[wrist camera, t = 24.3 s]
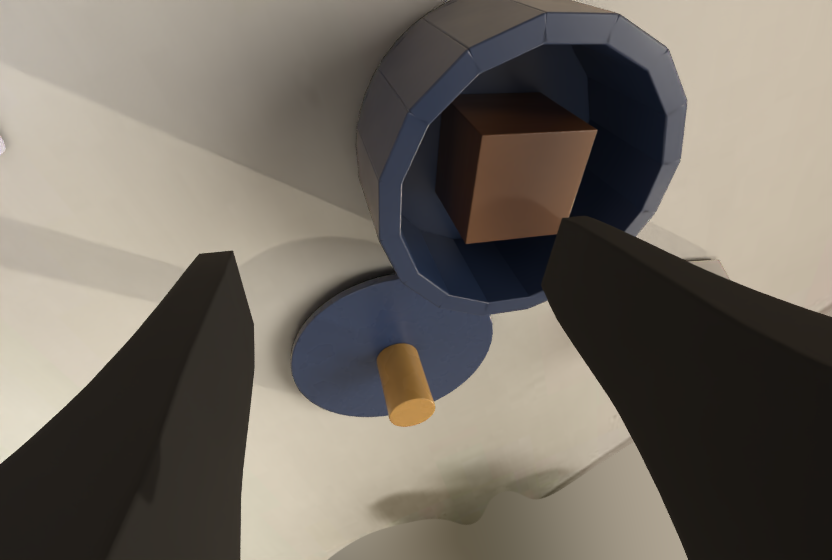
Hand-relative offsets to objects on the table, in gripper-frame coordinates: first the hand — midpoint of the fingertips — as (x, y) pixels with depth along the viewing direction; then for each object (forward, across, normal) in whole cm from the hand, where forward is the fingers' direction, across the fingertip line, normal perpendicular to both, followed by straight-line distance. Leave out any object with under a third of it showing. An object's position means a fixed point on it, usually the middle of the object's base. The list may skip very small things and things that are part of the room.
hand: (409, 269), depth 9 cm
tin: (+10, -6, +2) cm, 12 cm away
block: (+10, -6, +2) cm, 12 cm away
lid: (+10, -2, +14) cm, 18 cm away
